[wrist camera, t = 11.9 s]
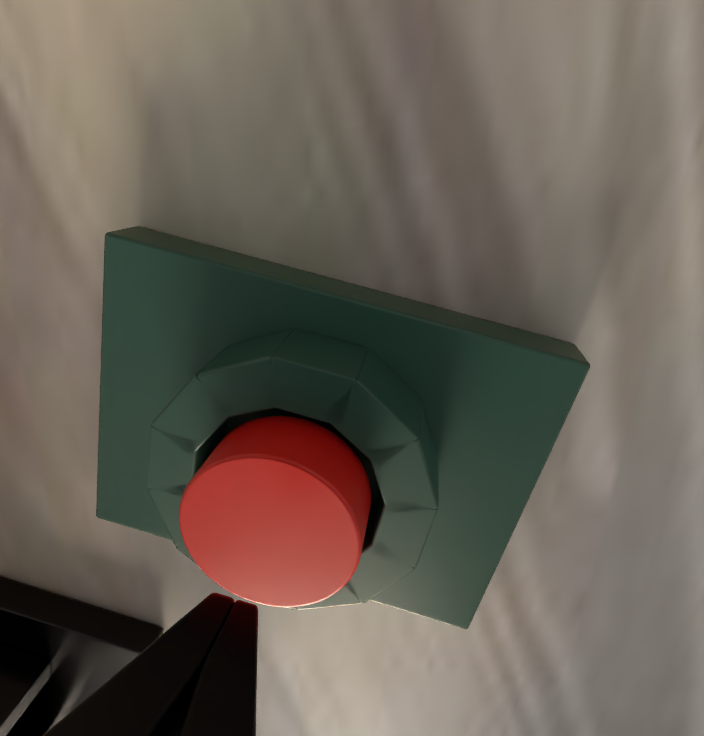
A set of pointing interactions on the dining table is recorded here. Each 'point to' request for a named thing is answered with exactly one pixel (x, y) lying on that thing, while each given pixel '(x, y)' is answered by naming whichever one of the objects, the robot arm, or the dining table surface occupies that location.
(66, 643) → the switch bracket
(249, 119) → the dining table surface
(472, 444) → the button block
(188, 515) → the button
